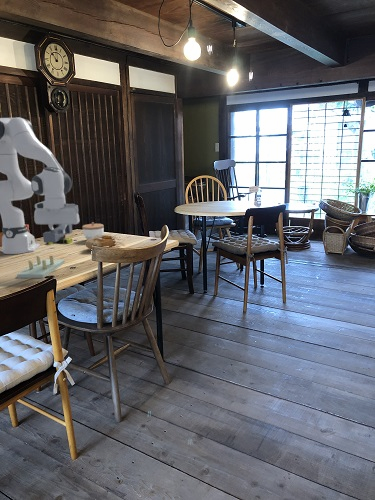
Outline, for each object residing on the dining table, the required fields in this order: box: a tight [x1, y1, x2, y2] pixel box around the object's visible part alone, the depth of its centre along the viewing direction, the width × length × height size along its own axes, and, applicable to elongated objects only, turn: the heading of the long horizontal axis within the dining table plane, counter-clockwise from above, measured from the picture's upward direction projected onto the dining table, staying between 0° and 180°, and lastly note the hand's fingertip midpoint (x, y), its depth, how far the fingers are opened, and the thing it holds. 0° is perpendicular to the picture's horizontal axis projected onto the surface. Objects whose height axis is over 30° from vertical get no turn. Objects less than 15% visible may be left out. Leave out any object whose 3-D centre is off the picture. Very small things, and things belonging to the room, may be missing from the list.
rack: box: [16, 255, 66, 279], centre depth 188 cm, size 24×12×6 cm, turn 175°
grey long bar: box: [42, 224, 73, 243], centre depth 187 cm, size 21×5×4 cm, turn 175°
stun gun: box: [46, 235, 73, 246], centre depth 247 cm, size 3×19×15 cm
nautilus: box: [84, 234, 126, 250], centre depth 223 cm, size 8×22×15 cm
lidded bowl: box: [81, 222, 105, 241], centre depth 245 cm, size 13×13×11 cm
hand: (58, 233), depth 187 cm, fingers closed on grey long bar, 3 cm apart
